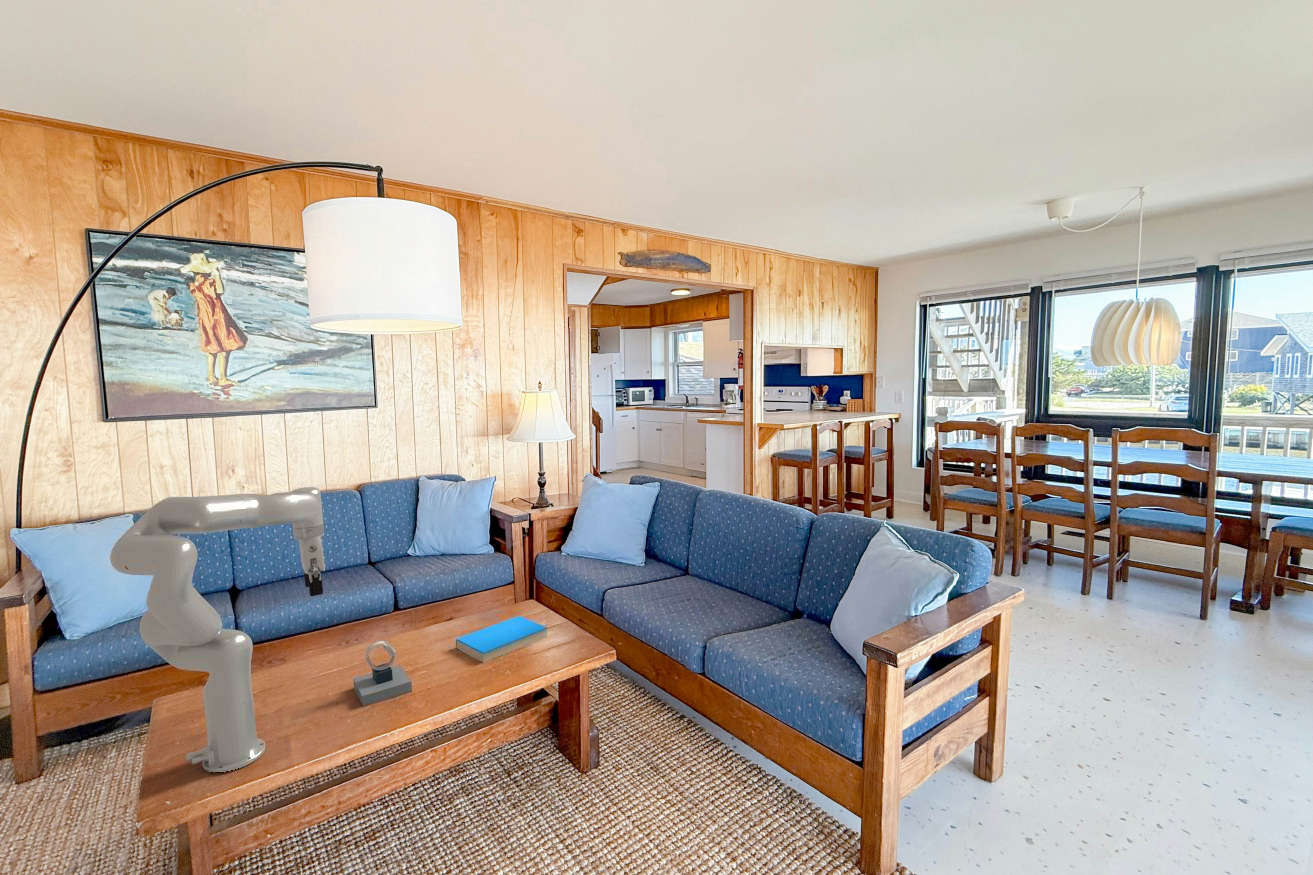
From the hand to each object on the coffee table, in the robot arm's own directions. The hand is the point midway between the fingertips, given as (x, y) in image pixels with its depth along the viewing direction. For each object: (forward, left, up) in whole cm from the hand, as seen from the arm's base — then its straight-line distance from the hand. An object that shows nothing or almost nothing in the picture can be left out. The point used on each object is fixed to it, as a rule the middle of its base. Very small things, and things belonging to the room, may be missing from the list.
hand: (314, 590), depth 177 cm
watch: (+14, -9, -28) cm, 32 cm away
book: (+54, -2, -31) cm, 62 cm away
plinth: (+14, -10, -30) cm, 35 cm away
